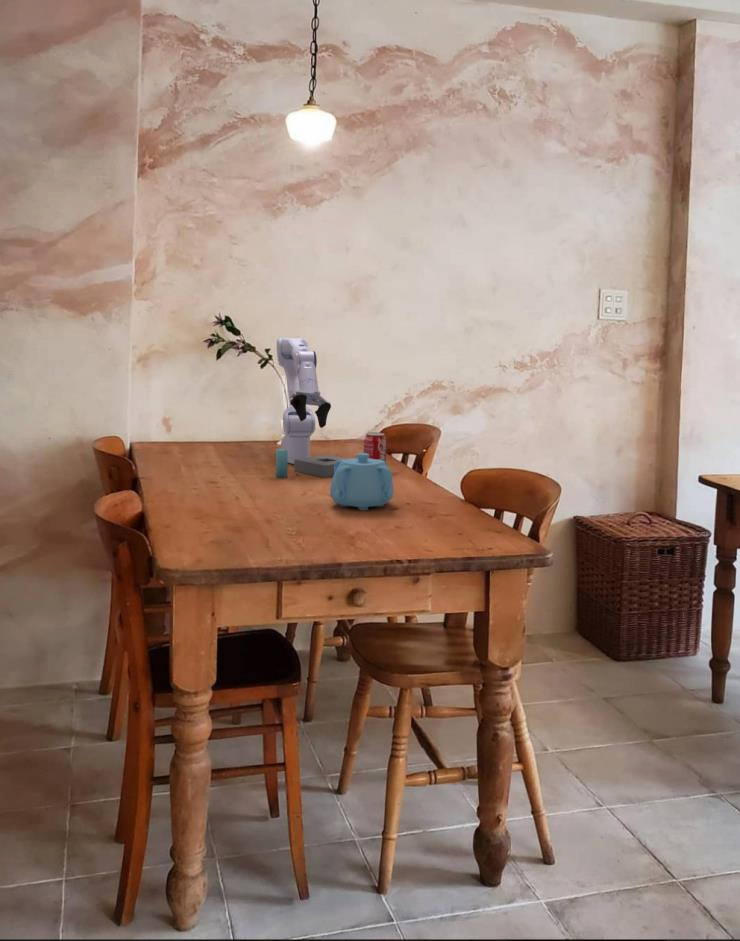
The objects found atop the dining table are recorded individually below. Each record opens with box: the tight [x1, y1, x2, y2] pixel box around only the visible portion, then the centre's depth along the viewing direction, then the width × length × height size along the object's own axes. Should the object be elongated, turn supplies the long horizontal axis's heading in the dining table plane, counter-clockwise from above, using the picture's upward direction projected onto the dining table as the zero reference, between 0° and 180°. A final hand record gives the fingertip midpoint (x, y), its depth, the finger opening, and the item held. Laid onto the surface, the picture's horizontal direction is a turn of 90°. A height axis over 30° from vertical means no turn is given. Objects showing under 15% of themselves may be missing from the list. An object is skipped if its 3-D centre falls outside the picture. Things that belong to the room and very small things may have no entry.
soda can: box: [362, 431, 387, 463], centre depth 287 cm, size 7×7×12 cm
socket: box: [293, 454, 348, 478], centre depth 286 cm, size 14×14×4 cm
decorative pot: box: [329, 452, 394, 511], centre depth 238 cm, size 16×16×14 cm
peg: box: [275, 448, 289, 478], centre depth 276 cm, size 3×3×8 cm
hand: (313, 423), depth 276 cm, fingers open, 7 cm apart
